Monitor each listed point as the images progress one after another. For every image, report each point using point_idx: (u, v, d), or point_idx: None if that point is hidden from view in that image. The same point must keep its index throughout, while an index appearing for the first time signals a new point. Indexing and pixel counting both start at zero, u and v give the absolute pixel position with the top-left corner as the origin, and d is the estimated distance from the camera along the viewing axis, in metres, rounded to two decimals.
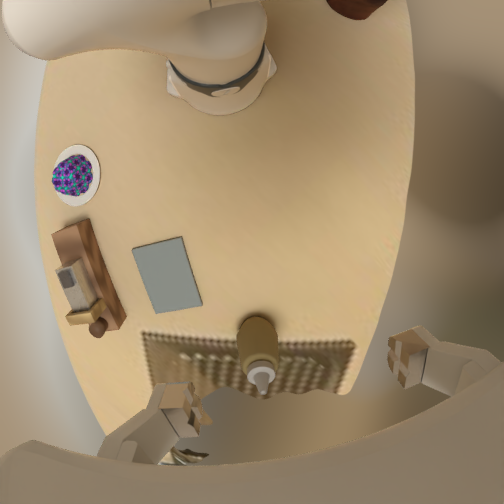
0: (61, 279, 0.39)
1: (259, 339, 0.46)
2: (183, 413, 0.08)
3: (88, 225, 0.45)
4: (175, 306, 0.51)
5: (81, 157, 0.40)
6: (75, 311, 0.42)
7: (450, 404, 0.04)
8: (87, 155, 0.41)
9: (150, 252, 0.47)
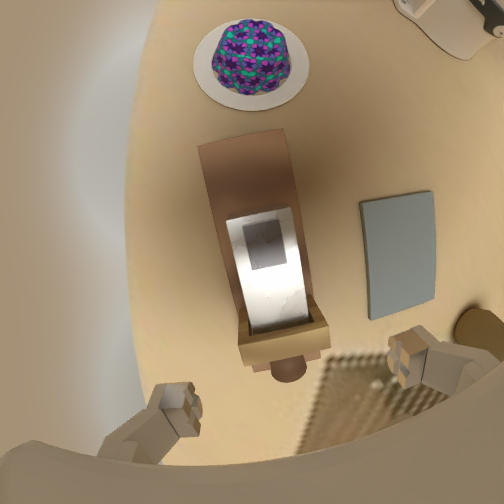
0: (252, 243, 0.18)
1: None
2: (183, 413, 0.08)
3: None
4: (402, 304, 0.29)
5: None
6: (259, 330, 0.20)
7: (450, 404, 0.04)
8: None
9: (392, 210, 0.26)
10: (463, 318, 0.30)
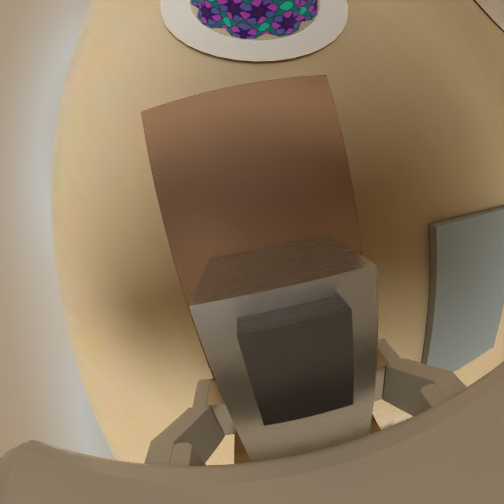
0: (268, 375, 0.06)
1: None
2: None
3: None
4: (461, 361, 0.17)
5: None
6: None
7: (450, 404, 0.04)
8: None
9: (470, 235, 0.14)
10: None
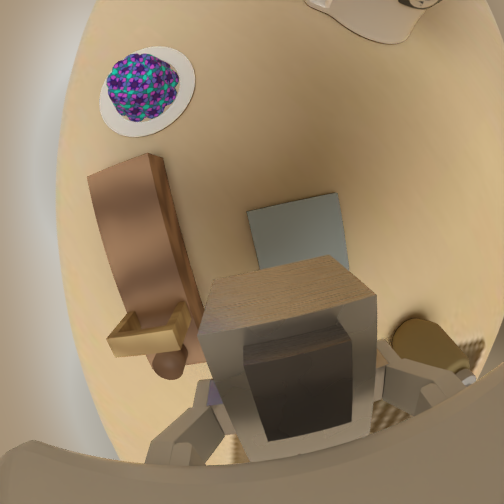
0: (272, 399, 0.06)
1: (446, 343, 0.25)
2: None
3: (162, 167, 0.26)
4: None
5: (165, 63, 0.24)
6: None
7: (450, 404, 0.04)
8: (176, 64, 0.24)
9: (283, 216, 0.28)
10: (400, 329, 0.32)
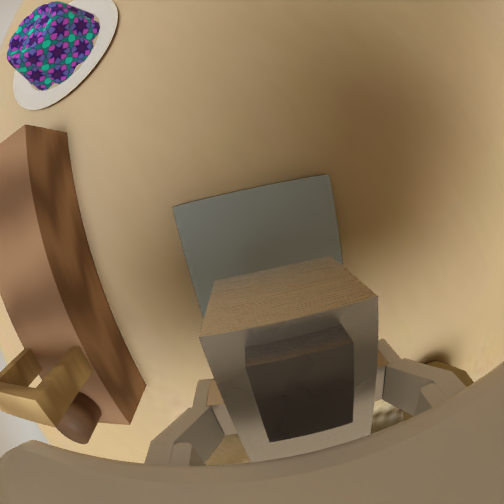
0: (274, 400, 0.06)
1: None
2: None
3: (60, 145, 0.15)
4: None
5: (87, 12, 0.12)
6: None
7: (450, 404, 0.04)
8: (100, 12, 0.13)
9: (233, 213, 0.17)
10: None
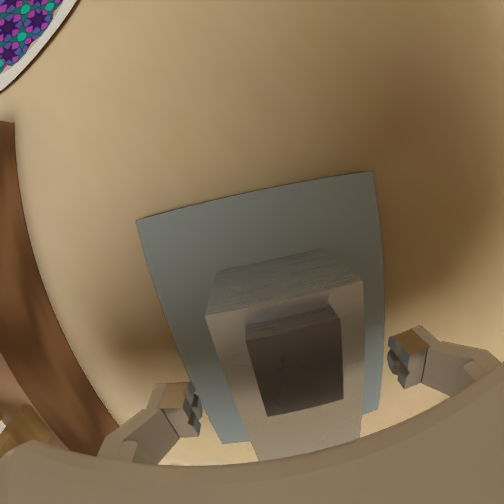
0: (271, 373, 0.07)
1: None
2: (183, 413, 0.08)
3: (3, 139, 0.09)
4: None
5: None
6: None
7: (450, 404, 0.04)
8: None
9: (227, 231, 0.11)
10: None
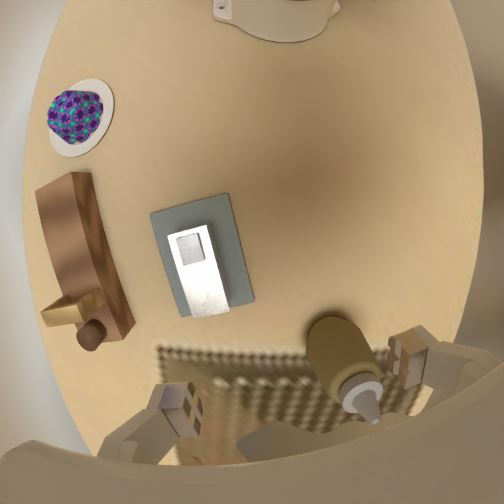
0: (182, 249, 0.28)
1: (351, 343, 0.28)
2: (183, 413, 0.08)
3: (88, 180, 0.30)
4: None
5: (95, 95, 0.28)
6: (194, 307, 0.30)
7: (450, 404, 0.04)
8: (103, 96, 0.28)
9: (178, 216, 0.32)
10: (313, 326, 0.35)
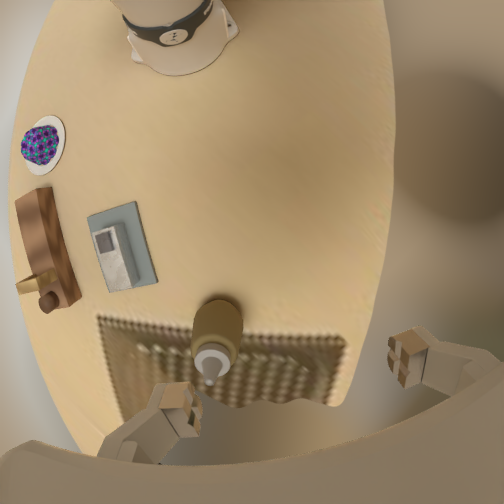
0: (98, 242, 0.37)
1: (214, 319, 0.37)
2: (183, 413, 0.08)
3: (49, 193, 0.39)
4: None
5: (53, 130, 0.36)
6: (109, 283, 0.39)
7: (450, 404, 0.04)
8: (59, 130, 0.37)
9: (104, 219, 0.41)
10: None
